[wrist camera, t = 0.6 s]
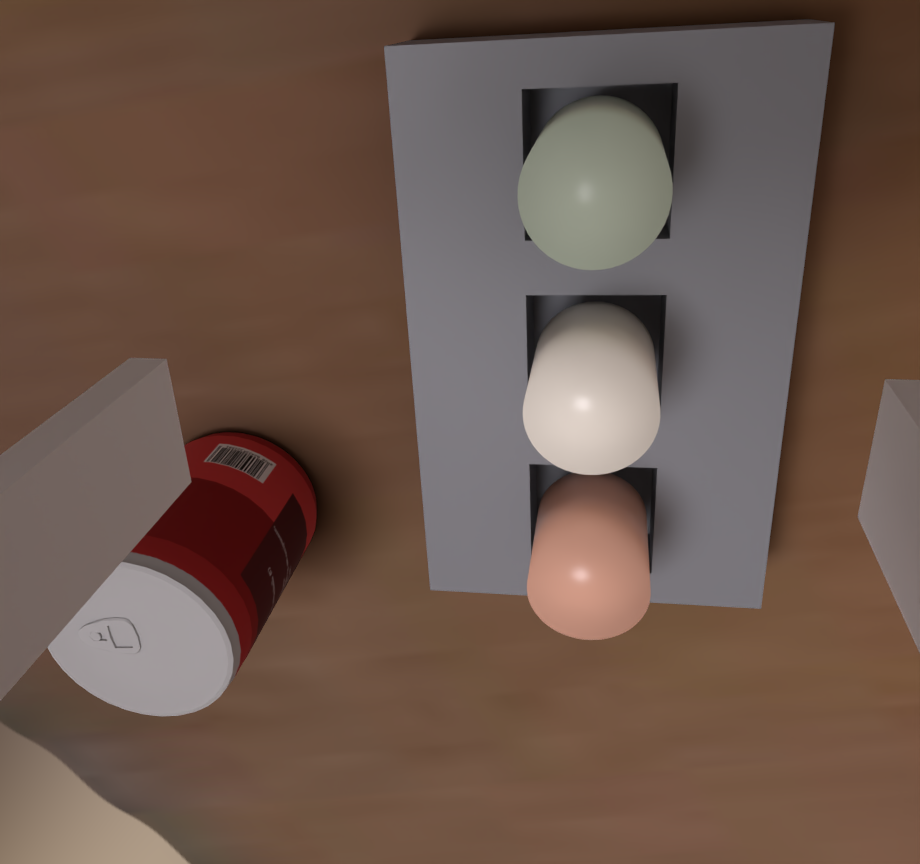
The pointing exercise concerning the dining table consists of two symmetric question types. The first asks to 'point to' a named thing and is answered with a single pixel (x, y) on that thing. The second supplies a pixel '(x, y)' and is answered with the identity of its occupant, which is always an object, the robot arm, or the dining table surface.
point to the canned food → (195, 582)
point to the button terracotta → (590, 557)
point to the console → (609, 284)
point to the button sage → (596, 184)
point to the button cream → (593, 390)
